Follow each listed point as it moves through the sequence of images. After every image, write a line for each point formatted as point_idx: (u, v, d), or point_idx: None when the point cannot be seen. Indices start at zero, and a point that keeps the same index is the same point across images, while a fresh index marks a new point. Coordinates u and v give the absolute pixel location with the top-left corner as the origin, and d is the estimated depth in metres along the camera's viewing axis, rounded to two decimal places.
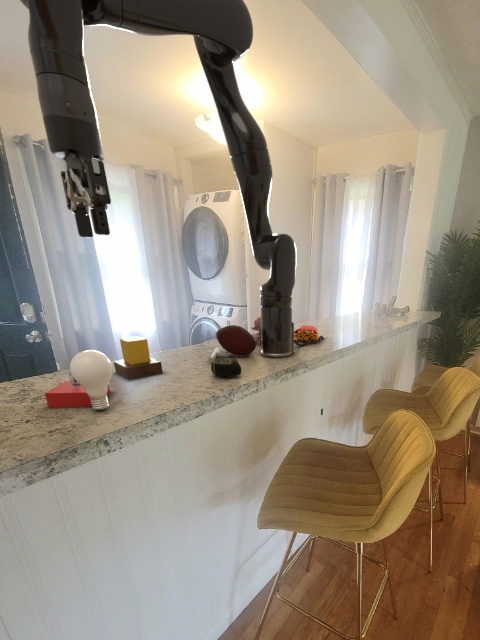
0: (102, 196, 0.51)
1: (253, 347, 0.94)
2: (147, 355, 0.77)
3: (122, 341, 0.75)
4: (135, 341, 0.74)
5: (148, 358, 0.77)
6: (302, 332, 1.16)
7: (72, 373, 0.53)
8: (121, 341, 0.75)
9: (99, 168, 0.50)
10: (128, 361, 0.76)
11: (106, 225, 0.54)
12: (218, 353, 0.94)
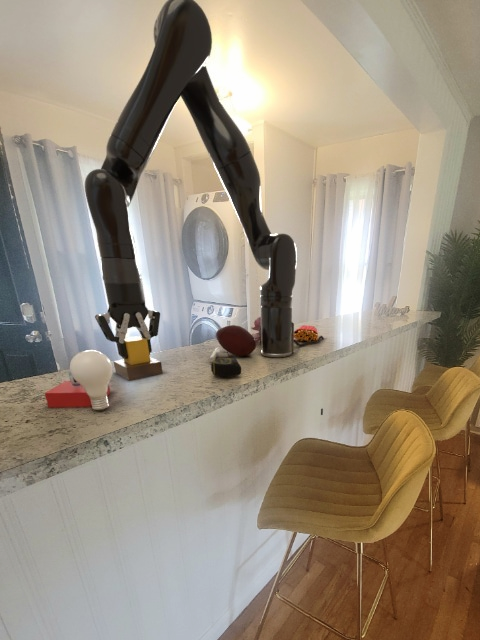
0: (108, 337, 0.72)
1: (253, 347, 0.94)
2: (147, 355, 0.77)
3: None
4: (135, 341, 0.74)
5: (148, 358, 0.77)
6: (302, 332, 1.16)
7: (72, 373, 0.53)
8: None
9: (99, 322, 0.69)
10: (128, 361, 0.76)
11: (120, 353, 0.74)
12: (218, 353, 0.94)
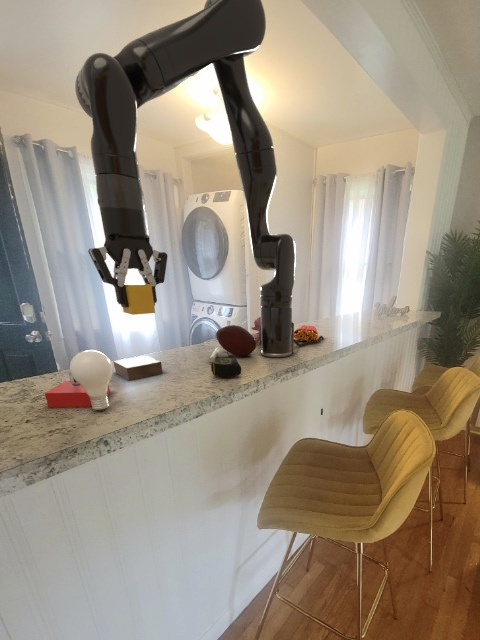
0: (104, 277, 0.59)
1: (253, 347, 0.94)
2: (151, 304, 0.64)
3: None
4: (137, 285, 0.61)
5: (152, 308, 0.64)
6: (302, 332, 1.16)
7: (72, 373, 0.53)
8: None
9: (93, 257, 0.56)
10: (128, 310, 0.63)
11: (119, 300, 0.61)
12: (218, 353, 0.94)
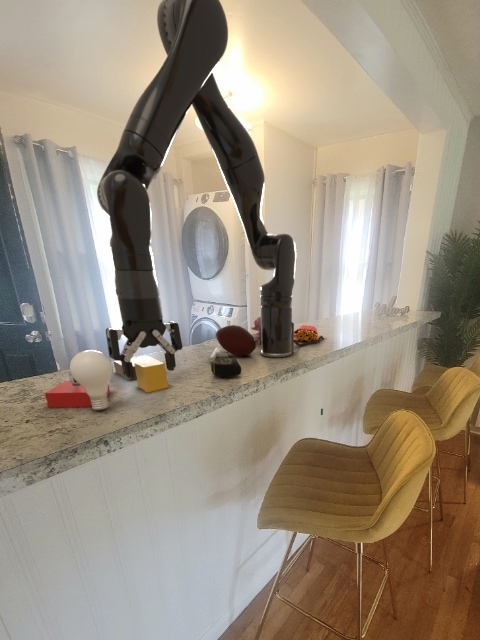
0: (111, 355, 0.62)
1: (253, 347, 0.94)
2: (164, 381, 0.69)
3: (137, 365, 0.67)
4: (152, 366, 0.66)
5: (166, 384, 0.70)
6: (302, 332, 1.16)
7: (72, 373, 0.53)
8: (136, 366, 0.67)
9: (109, 336, 0.61)
10: (144, 388, 0.68)
11: (125, 373, 0.65)
12: (218, 353, 0.94)
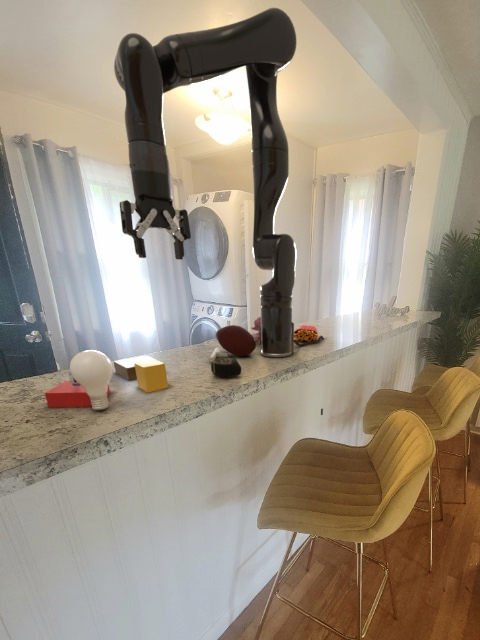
0: (125, 228, 0.66)
1: (253, 347, 0.94)
2: (164, 381, 0.69)
3: (137, 366, 0.67)
4: (152, 366, 0.66)
5: (166, 384, 0.70)
6: (302, 332, 1.16)
7: (72, 373, 0.53)
8: (136, 366, 0.67)
9: (123, 207, 0.64)
10: (144, 388, 0.68)
11: (137, 250, 0.68)
12: (218, 353, 0.94)
